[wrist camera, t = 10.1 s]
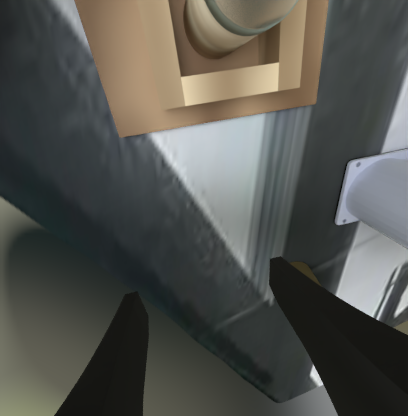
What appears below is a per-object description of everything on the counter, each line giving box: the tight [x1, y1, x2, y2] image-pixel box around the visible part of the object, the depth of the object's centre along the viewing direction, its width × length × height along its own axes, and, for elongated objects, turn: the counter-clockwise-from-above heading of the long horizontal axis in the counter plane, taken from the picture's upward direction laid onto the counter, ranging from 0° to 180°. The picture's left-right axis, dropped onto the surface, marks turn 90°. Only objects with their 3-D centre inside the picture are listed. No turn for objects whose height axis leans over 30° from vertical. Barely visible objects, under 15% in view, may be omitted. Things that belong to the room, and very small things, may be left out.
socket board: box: [74, 0, 329, 138], centre depth 12 cm, size 16×12×4 cm
